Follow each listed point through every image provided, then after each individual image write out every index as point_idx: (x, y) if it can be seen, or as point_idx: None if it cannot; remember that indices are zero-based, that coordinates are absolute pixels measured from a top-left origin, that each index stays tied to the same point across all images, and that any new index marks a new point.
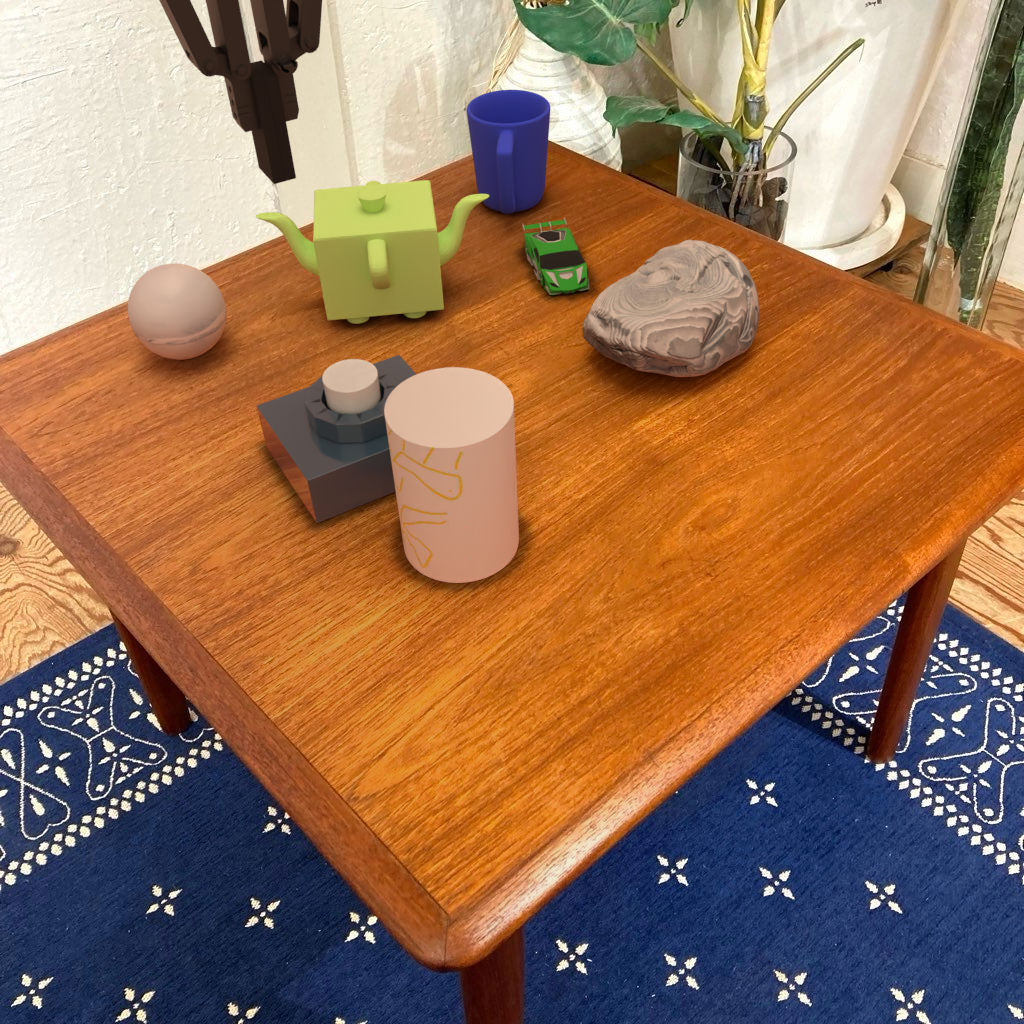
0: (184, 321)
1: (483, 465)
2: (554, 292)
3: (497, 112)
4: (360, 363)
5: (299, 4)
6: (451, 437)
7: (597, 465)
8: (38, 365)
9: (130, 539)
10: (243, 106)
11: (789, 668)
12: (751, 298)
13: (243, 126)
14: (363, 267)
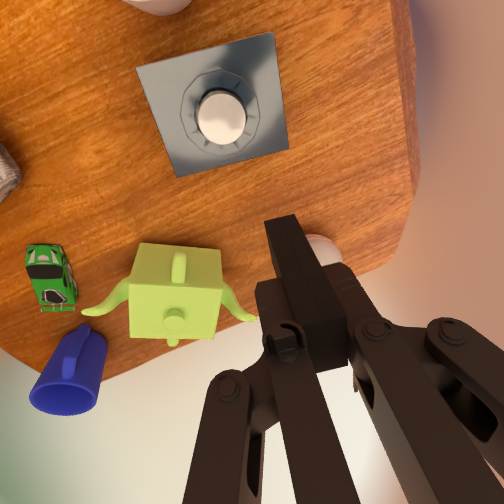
0: (314, 246)
1: None
2: (55, 246)
3: (77, 399)
4: (210, 134)
5: (244, 484)
6: None
7: (17, 14)
8: (380, 254)
9: (385, 69)
10: (350, 289)
11: None
12: None
13: (344, 267)
14: (190, 270)
